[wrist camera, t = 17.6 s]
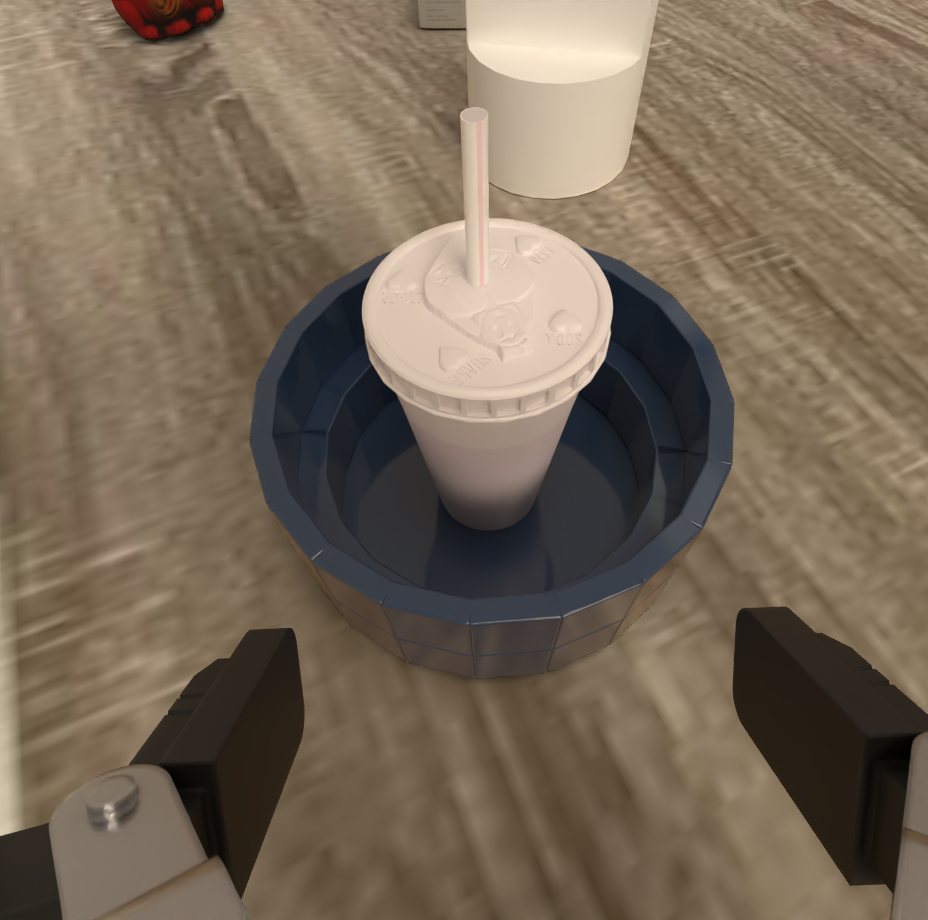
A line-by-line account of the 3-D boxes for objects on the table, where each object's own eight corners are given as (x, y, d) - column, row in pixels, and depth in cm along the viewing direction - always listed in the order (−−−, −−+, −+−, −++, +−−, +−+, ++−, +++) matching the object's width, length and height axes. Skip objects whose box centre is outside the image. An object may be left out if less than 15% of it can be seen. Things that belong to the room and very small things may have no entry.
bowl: (435, 309, 30) (423, 188, 25) (733, 437, 26) (798, 324, 20) (227, 551, 24) (148, 461, 18) (571, 773, 20) (603, 742, 14)
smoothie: (530, 398, 26) (563, 20, 14) (604, 529, 23) (724, 182, 11) (382, 448, 25) (285, 86, 13) (437, 592, 22) (373, 285, 10)
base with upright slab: (637, 113, 38) (690, -158, 28) (616, 209, 34) (671, -73, 23) (490, 97, 40) (490, -166, 29) (451, 187, 35) (435, -88, 25)
